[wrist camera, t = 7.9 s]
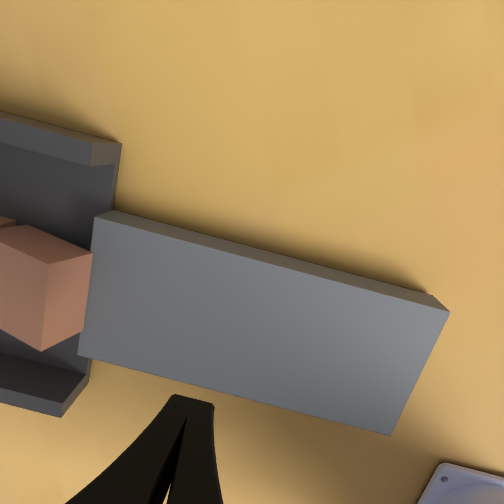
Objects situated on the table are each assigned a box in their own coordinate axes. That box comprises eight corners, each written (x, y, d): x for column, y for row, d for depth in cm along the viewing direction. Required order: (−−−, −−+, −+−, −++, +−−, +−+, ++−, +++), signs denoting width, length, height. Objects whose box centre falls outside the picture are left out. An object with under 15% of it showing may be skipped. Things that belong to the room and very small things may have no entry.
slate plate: (379, 410, 21) (390, 435, 20) (95, 335, 21) (77, 354, 19) (432, 295, 19) (450, 312, 17) (112, 209, 19) (94, 216, 17)
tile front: (83, 330, 19) (40, 351, 16) (22, 298, 20) (-25, 314, 18) (93, 252, 17) (48, 264, 15) (27, 224, 19) (-23, 231, 16)
